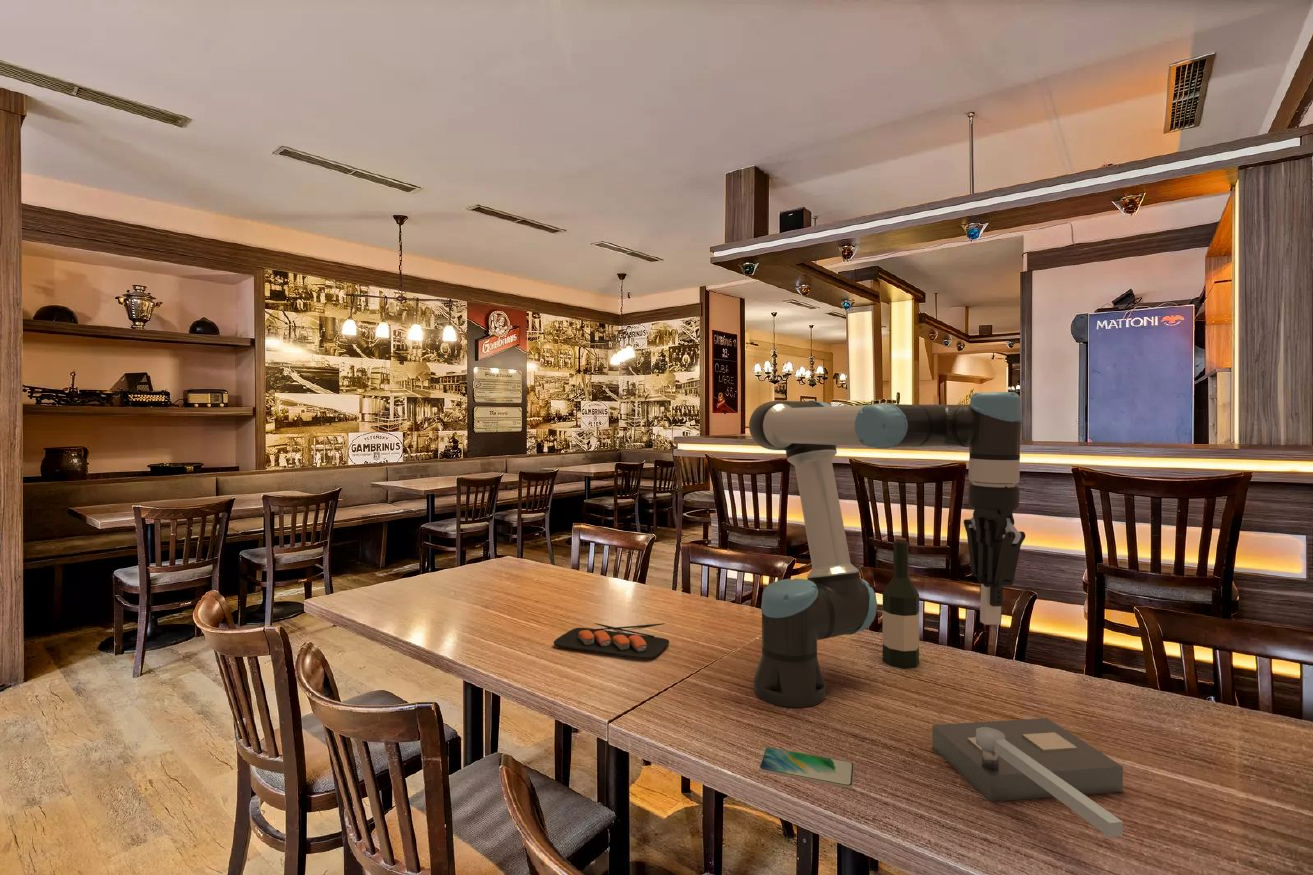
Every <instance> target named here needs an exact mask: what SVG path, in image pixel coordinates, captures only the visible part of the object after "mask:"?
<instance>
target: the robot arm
mask: <svg viewBox="0 0 1313 875" xmlns="http://www.w3.org/2000/svg"><path fill="white" fill-rule="evenodd" d="M1022 422H1023V417H1022V399H1021V397H1020V395H1019V394H1018V393H1016V392H1013V391H985V392H982V391H981V392H975V393H972V394H971V396H970V401H969V404H932V403H930V404H913V403H912V404H902V403H887V402H885V403H882V402H879V403H874V404H873V403H872V404H865V405H863V404H862V405H859V404H858V405H840V406H839V405H836V406H832V405H830V404H829V403H827V402H824V401H818V400H817V401H816V400H803V401H802V400H794V401H793V400H773V401H772V400H771V401H768V402H763V403H762V404H760V405H759V406H757V407H756V408H755V410H753V411H752V413H751V416H750V418H749V422H748V430H749V434H750V436H751V438H752V440H753V441H754V442H755V444H757V445H758V446H760V447H761V448H764V449H766V450H770V451H785V454H786V456H785V457H786V461H787V462H788V463H790V464H791V465H793V467H794V469H795V470H794V471H795V475H796V481H797V482H796V483H797V486H798V492H799V497H800V504H801V509H802V514H803V515H802V516H803V521H804V527H805V533H806V538H807V543H808V550H809V555H810V563H811V570H810V571H809V573H808V574H807V577H806V578H807V579H804V578H784V579H779V580H776V581H774V582H773V581H772V582H771V583H769V584H767V585H766V586H765V587H764V589H763V591H762V594H761V596H762V598H761V605H760V610H761V657H760V660H759V661H758V662H759V663H758V666H757V669H756V670H755V671H756V672H755V675H754V678H753V691H754V693H755V695H756V696H757V697H759V698H760V699H762V701H764V702H766V703H767V702H768V703H770V704H773V705H776V706H781V707H787V708H788V707H789V708H804V707H812V706H815V705H817V704H820V703H822V702H823V701H824V700H825V699H826V697H827V696H826V695H827V687H826V685H827V684H826V681H825V678H824V675H823V672H822V669H821V666H820V663H819V660H818V641H820V640H825V639H830V638H835V637H841V636H846V635H847V636H852V635H854V634H856V633H858V632H862V631H865V630H866V629H868V628H869V627H870V626H871V625H872V623H873V622H874V620H875V619H876V615H877V611H878V610H877V609H878V602H877V597H876V593H875V590H874V589H873V587H870V583H869V582H868V581H866V580H865V579H863V578H861V573H860V570H859V569H858V568H857V567H856V566H854V565H853V564H852V563H851V558H850V554H849V553H850V552H849V547H848V542H847V535H846V530H845V526H844V520H843V515H842V509H841V508H842V507H841V504H840V498H839V493H838V489H837V482H836V477H835V471H834V467H833V466H834V465H833V458H834V457H835V456H836V454H838V451H837V447H838V446H853V447H854V446H857V447H869V448H875V449H890V448H891V449H892V448H907V447H909V448H911V447H912V448H918V447H922V448H923V447H925V448H926V447H958V448H959V447H960V448H968V449H969V450H968V451H969V458H968V480H969V481H970V482H971V484H969V485H968V495H967V496H968V497H967V498H968V500H967V503H968V505H969V506H970V507H972V508H973V509H974V510H973V512H972V517H971V518H968V519H966V518H965V519H964V520H963V526H964V528H965V532H966V536H967V546H968V554H969V555H968V556H969V563H970V571H971V572H970V573H971V575H972V577H976V578H977V581H978V582H979V587H980V588H979V599H980V606H979V607H980V609H979V613H980V614H979V622H980V623H981V624H984V625H1002V606H1003V593H1004V592H1003V591H1004V590H1003V588H1004V587H1012V586H1013V585H1014V582H1015V581H1014V580H1015V575H1016V570H1017V565H1018V560H1019V556H1020V551H1021V546H1022V544H1023V542H1024V540H1026V539H1025V538H1026V532H1024V530H1023V531H1018V529H1017V528H1016V526H1015V518H1014V514H1013V512H1014V511H1015V510H1017V509H1019V508H1020V492H1021V491H1020V488H1019V487H1018V486H1017V484H1020V478H1021V477H1020V474H1021V473H1020V470H1021V468H1020V466H1021V464H1020V463H1021V455H1020V453H1021V436H1022V424H1023V423H1022Z"/></svg>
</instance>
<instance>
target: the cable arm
mask: <svg viewBox="0 0 1313 875" xmlns="http://www.w3.org/2000/svg"><path fill="white" fill-rule="evenodd" d="M976 744H977V745H978V746H980V747H981V748H983V749H986V750H989V751H994V752H995V753H996V754H998V755H999V756H1000V757H1002V758H1003V759H1004V760H1006V761H1007V762H1008V763H1010V764H1011V765H1012V766H1014V767H1015V768H1016V769H1018V770H1019V771H1020V772H1022V773H1023V774H1024V775H1026V776H1027V777H1029V778H1030V779H1031V780H1033V781H1034V782H1035V783H1037V784H1038V785H1039V786H1041V787H1042V788H1043V789H1045V790H1046V791H1047V792H1049V793H1050V794H1051V795H1053V796H1054V797H1053V798H1055V799H1057V800H1058V801H1059V802H1060V803H1062V804H1063V805H1065V806H1066V807H1068V808H1069V809H1070V810H1071V811H1073V812H1074V813H1075V814H1076V815H1078V816H1079V817H1081V818H1082V819H1083V820H1086V822H1087V823H1090V825H1092V826H1093V827H1095V828H1096V829H1097V830H1098V831H1100V832H1101V833H1103V835H1105V836H1106V837H1108V838H1109V839H1110V838H1111V839H1112V838H1117V837H1118V838H1119V837H1123V832H1124V831H1123V830H1124V829H1123V820H1122V819H1120V818H1118V817H1117V816H1116V815H1114V814H1112V813H1111V812H1109V811H1108V810H1107V809H1105V808H1104V807H1102V806H1101V805H1100V804H1098V802H1097V803H1096V802H1095V801H1094V800H1093V799H1091V798H1089V797H1088V796H1087V795H1084V794H1082V793H1081V792H1079V791H1078V790H1077V789H1075V788H1074V787H1072V786H1071V785H1069V784H1068V783H1067V782H1065V781H1064V780H1062V779H1061V778H1059V777H1058V776H1057V775H1055V774H1054V773H1052V772H1051V771H1049V770H1048V769H1047V768H1045V767H1044V766H1042V765H1041V764H1039V763H1038V762H1036V761H1035V760H1034V759H1032V758H1031V757H1029V756H1028V755H1026V754H1025V753H1024V752H1022V751H1021V750H1019V749H1018V748H1016V747H1015V746H1014V745H1012V744H1011V743H1009V742H1008V741H1006V740H1005V735H1004V734H1003V733H1002V732H1000V731H998V730H996V729H993V728H988V727H980V728H977V729H976Z"/></svg>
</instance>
